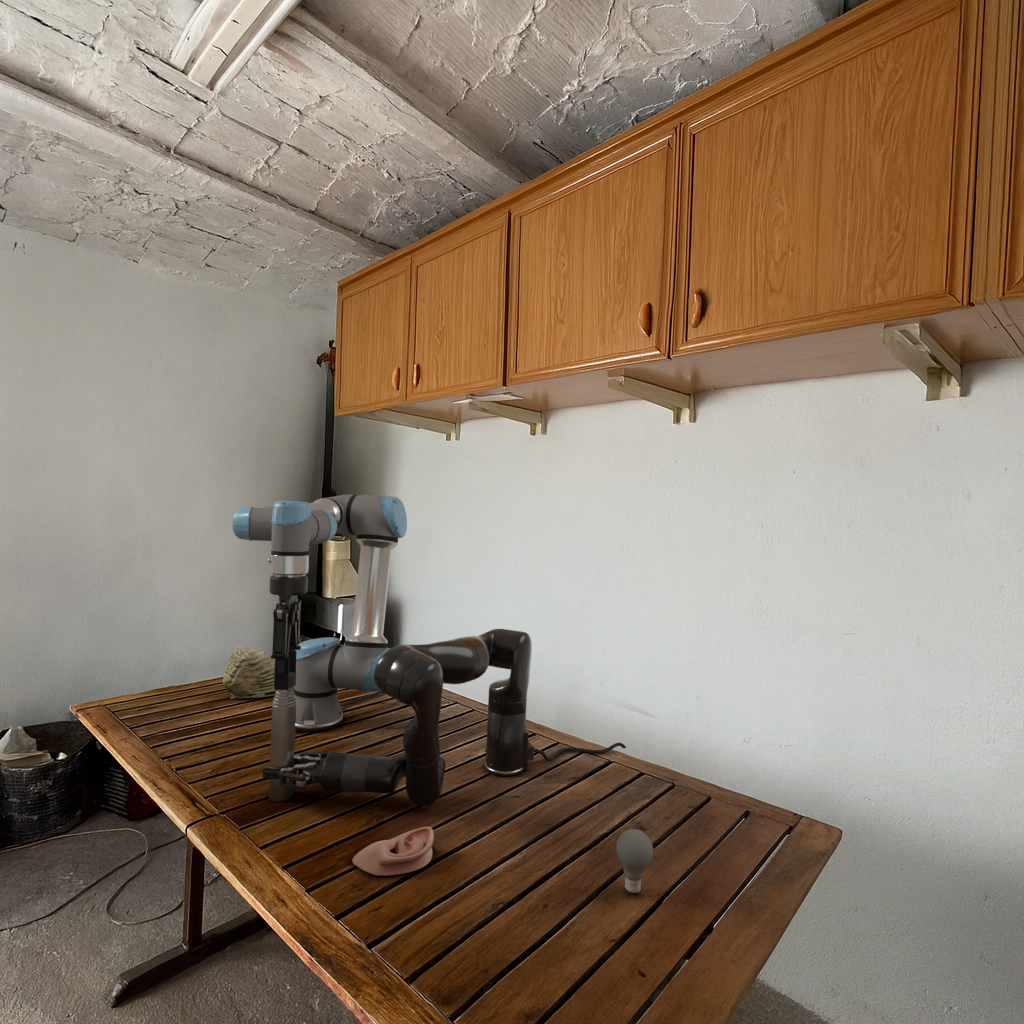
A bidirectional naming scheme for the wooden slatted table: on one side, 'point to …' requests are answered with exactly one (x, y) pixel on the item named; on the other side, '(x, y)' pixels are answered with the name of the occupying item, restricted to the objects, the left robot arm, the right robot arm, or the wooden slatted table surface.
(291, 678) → the cap
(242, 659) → the fossil
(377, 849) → the anatomical model
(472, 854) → the wooden slatted table surface
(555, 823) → the wooden slatted table surface
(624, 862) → the light bulb
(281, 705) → the bottle
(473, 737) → the wooden slatted table surface
